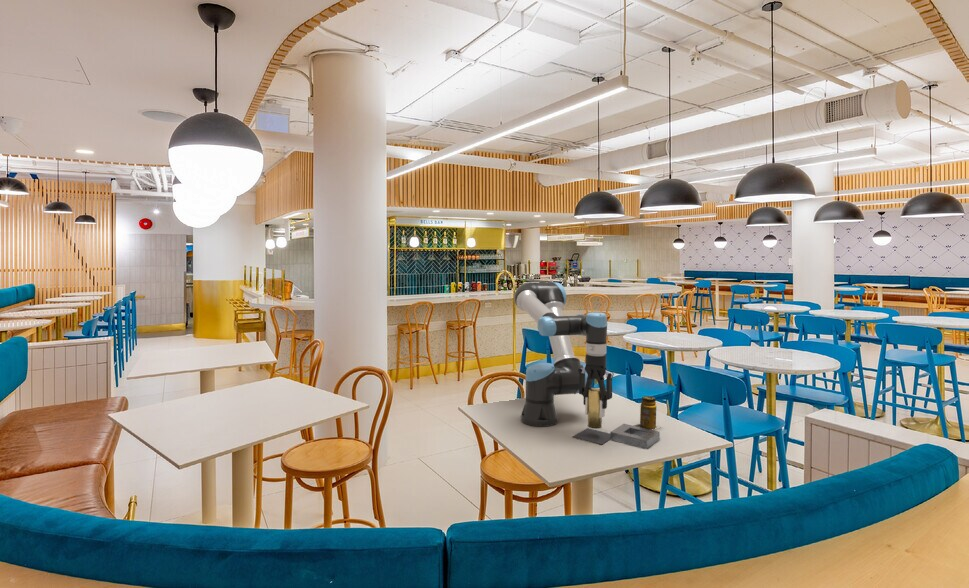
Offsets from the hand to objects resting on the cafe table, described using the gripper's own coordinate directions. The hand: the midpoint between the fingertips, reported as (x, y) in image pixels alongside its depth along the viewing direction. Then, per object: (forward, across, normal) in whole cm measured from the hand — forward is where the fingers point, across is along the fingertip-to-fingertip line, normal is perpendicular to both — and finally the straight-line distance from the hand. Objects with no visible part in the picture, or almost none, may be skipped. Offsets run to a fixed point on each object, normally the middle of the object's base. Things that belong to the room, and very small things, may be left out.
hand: (594, 415), depth 187 cm
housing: (+8, +13, +7) cm, 17 cm away
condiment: (+9, +11, +23) cm, 27 cm away
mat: (+8, 0, 0) cm, 8 cm away
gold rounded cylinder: (+4, 0, 0) cm, 4 cm away
